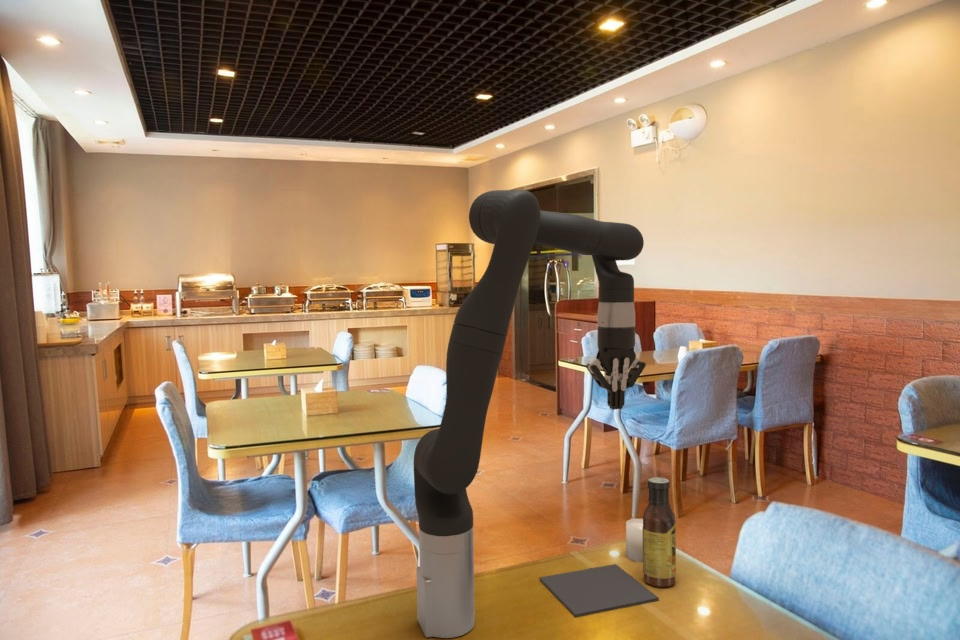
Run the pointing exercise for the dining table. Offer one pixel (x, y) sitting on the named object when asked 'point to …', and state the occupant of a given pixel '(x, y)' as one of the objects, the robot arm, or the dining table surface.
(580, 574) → the bar mat
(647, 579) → the sauce bottle
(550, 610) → the dining table surface
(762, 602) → the dining table surface
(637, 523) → the white rounded cylinder
